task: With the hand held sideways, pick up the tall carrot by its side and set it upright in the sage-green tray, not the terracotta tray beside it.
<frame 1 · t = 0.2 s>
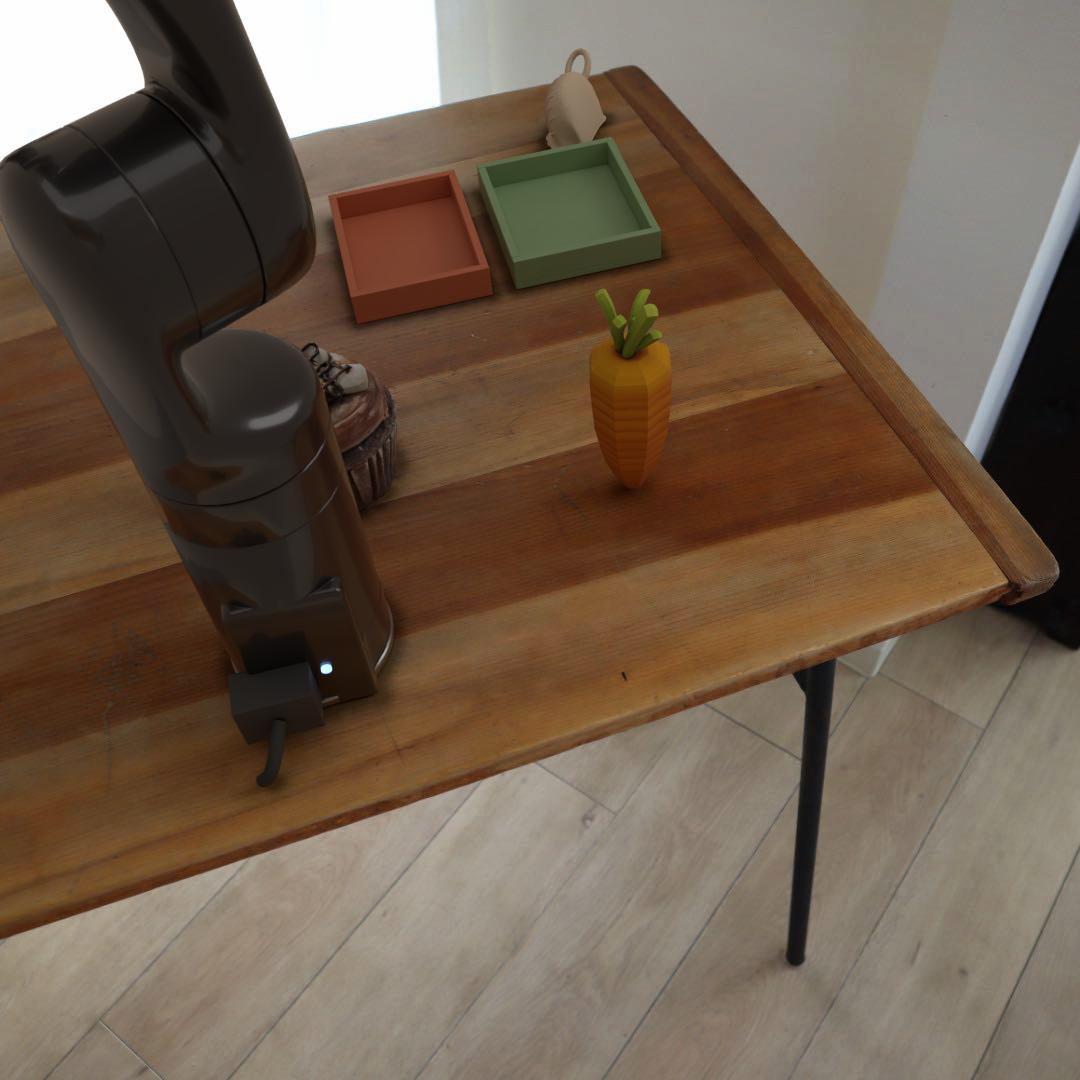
magic lamp: (130, 271, 93), on the table
decorative ornament: (577, 135, 100), on the table
carrot: (633, 488, 74), on the table
cupcake: (337, 475, 77), on the table
green tray: (567, 223, 92), on the table
terracotta tray: (410, 256, 91), on the table
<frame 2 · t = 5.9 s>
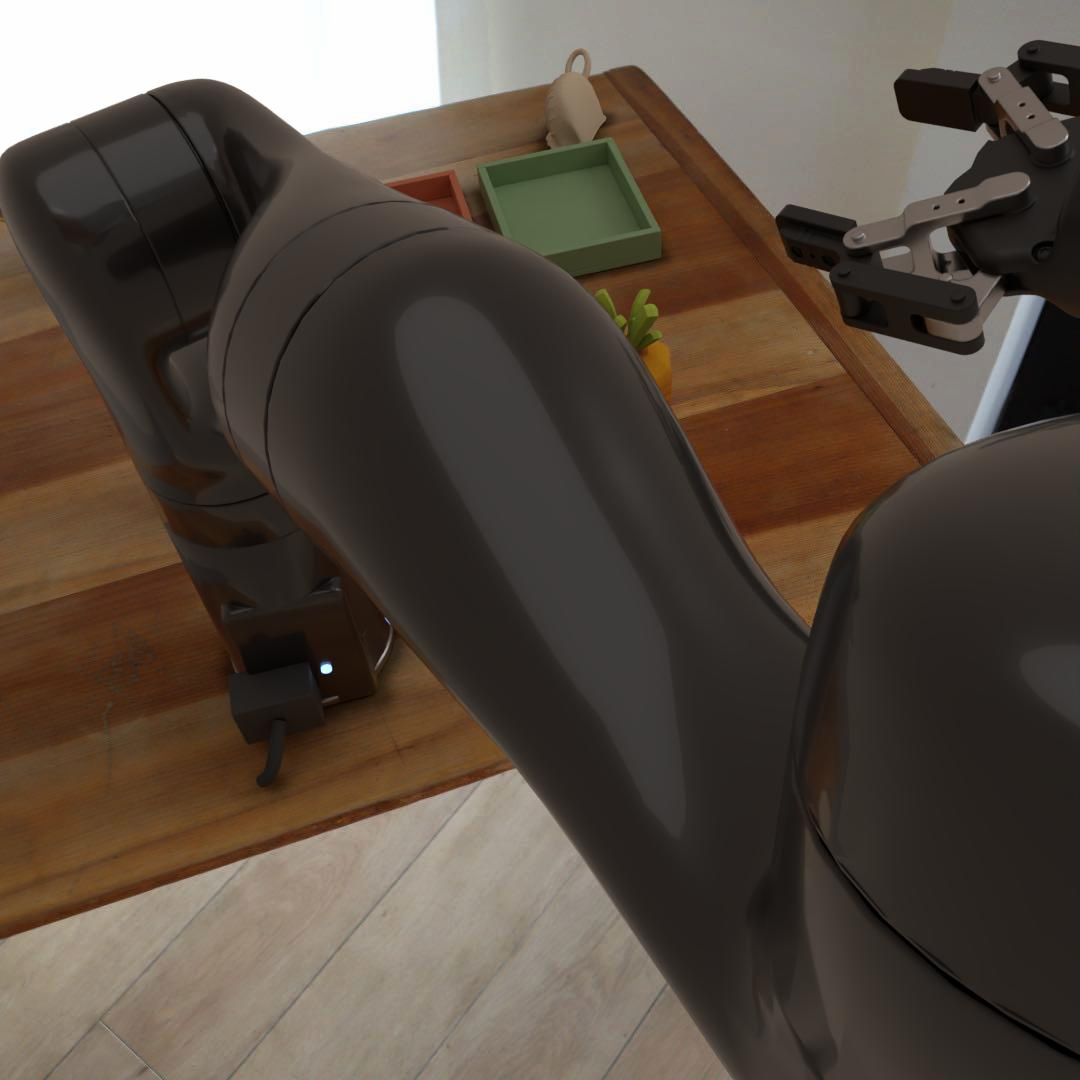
hand: (843, 159, 51), 26 cm above the table, tool horizontal, fingers open, 8 cm apart
nothing on the table moved.
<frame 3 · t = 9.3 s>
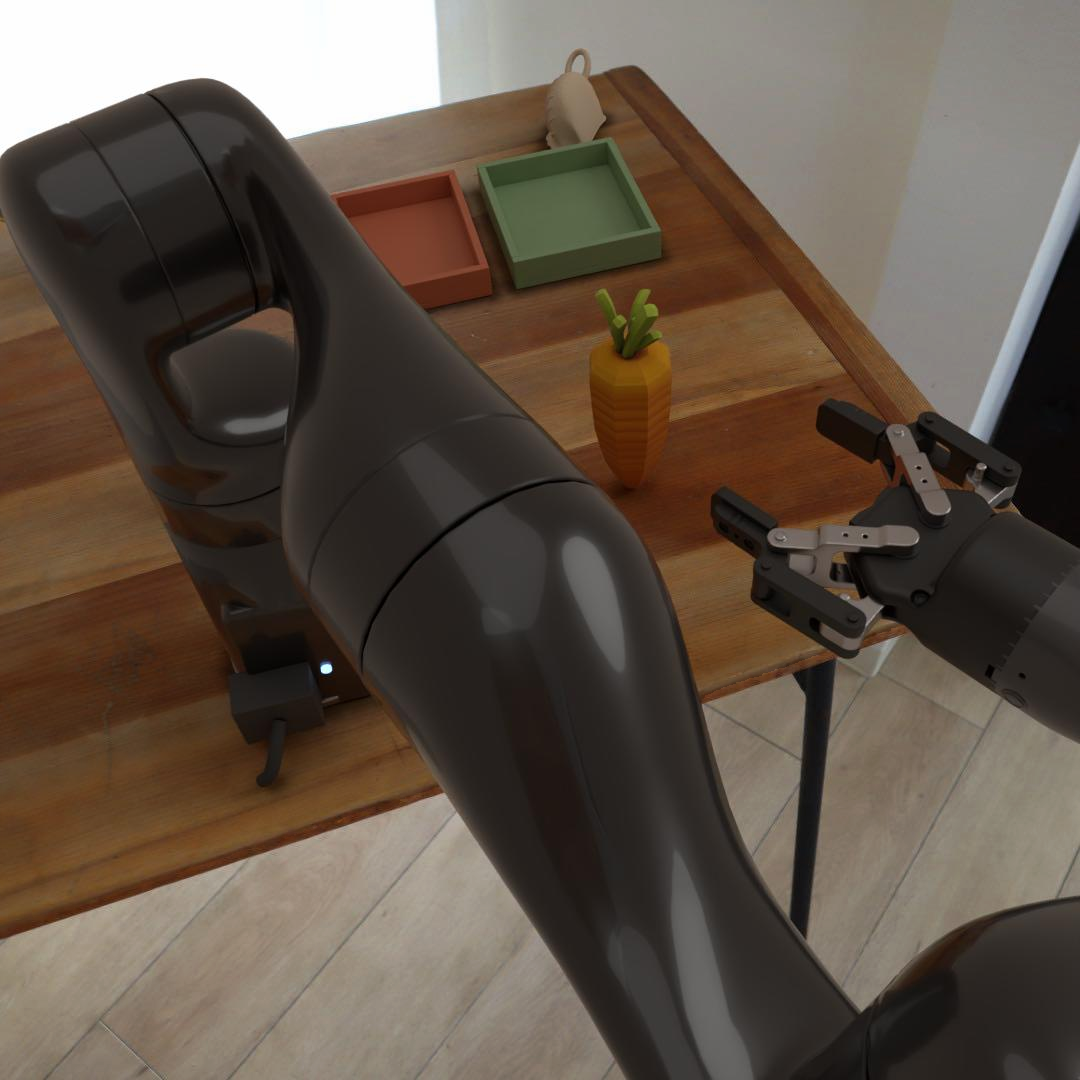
hand: (769, 456, 61), 10 cm above the table, tool horizontal, fingers open, 8 cm apart
nothing on the table moved.
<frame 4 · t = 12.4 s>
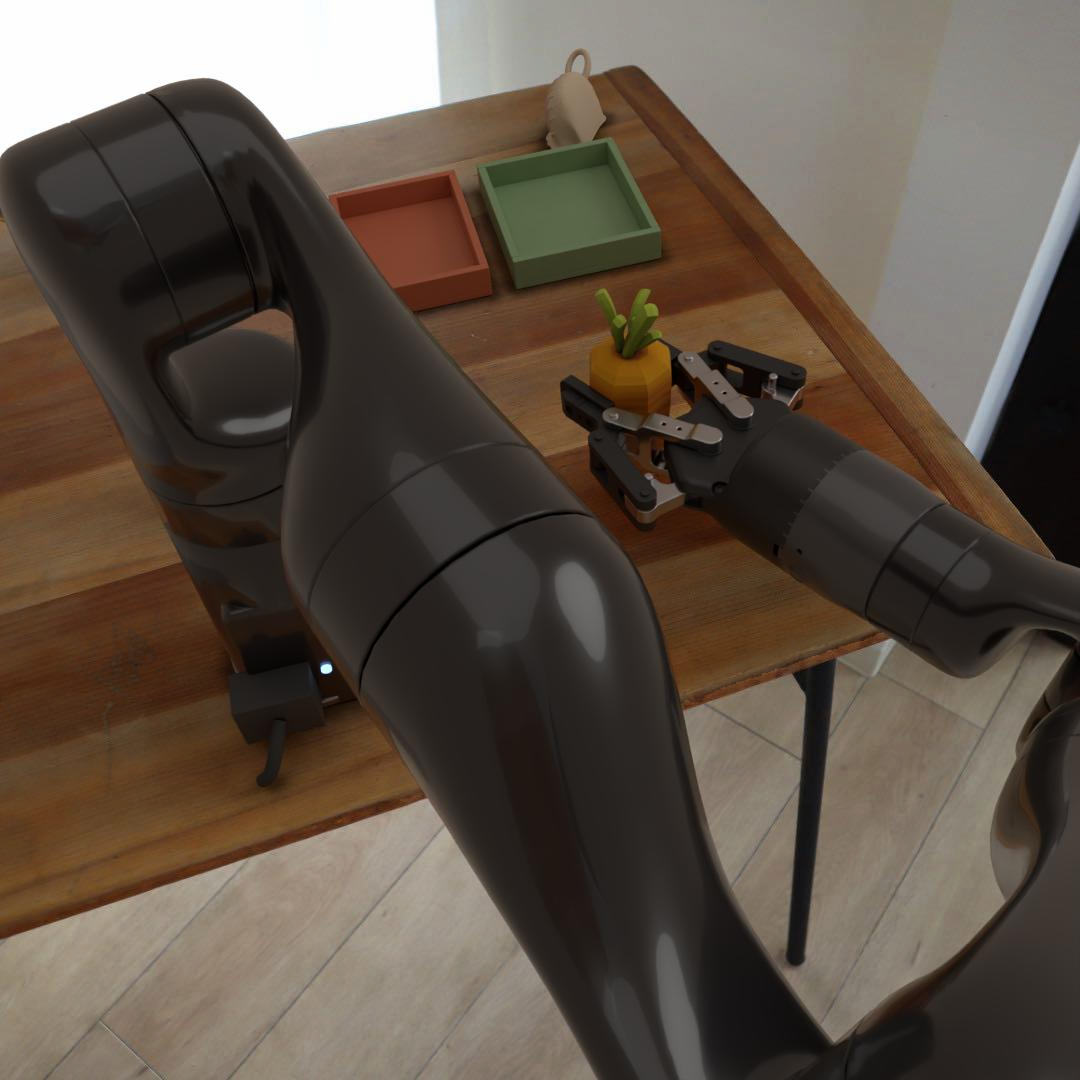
hand: (597, 367, 69), 9 cm above the table, tool horizontal, fingers closed on carrot, 4 cm apart
carrot: (632, 489, 74), on the table, touching gripper
everything else where it was.
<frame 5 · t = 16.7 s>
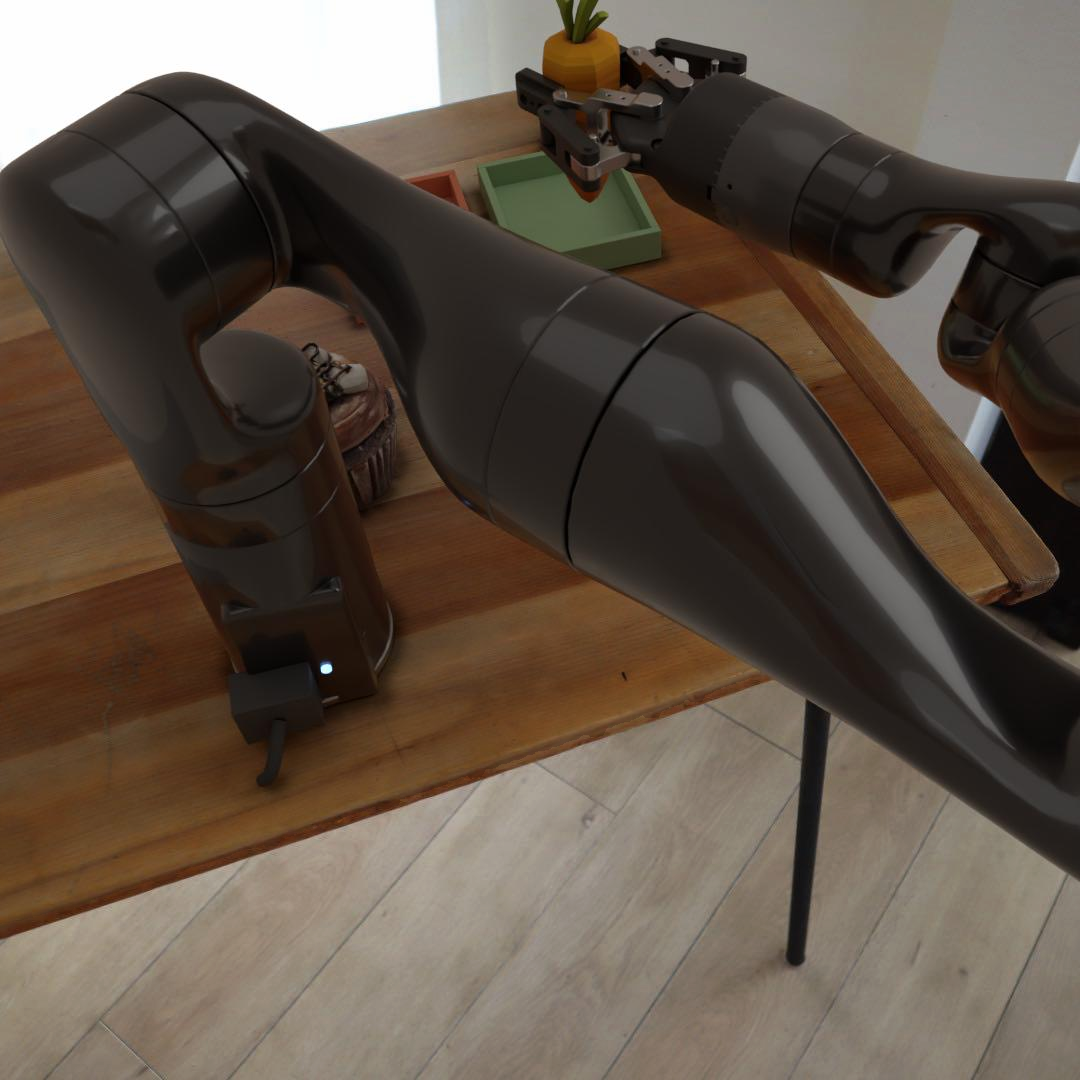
hand: (552, 67, 73), 18 cm above the table, tool horizontal, fingers closed on carrot, 4 cm apart
carrot: (590, 204, 78), point 9 cm above the table, touching gripper
everything else where it was.
when the fingers open (9 cm above the table, at t = 20.9 s): carrot stays where it is, resting on green tray.
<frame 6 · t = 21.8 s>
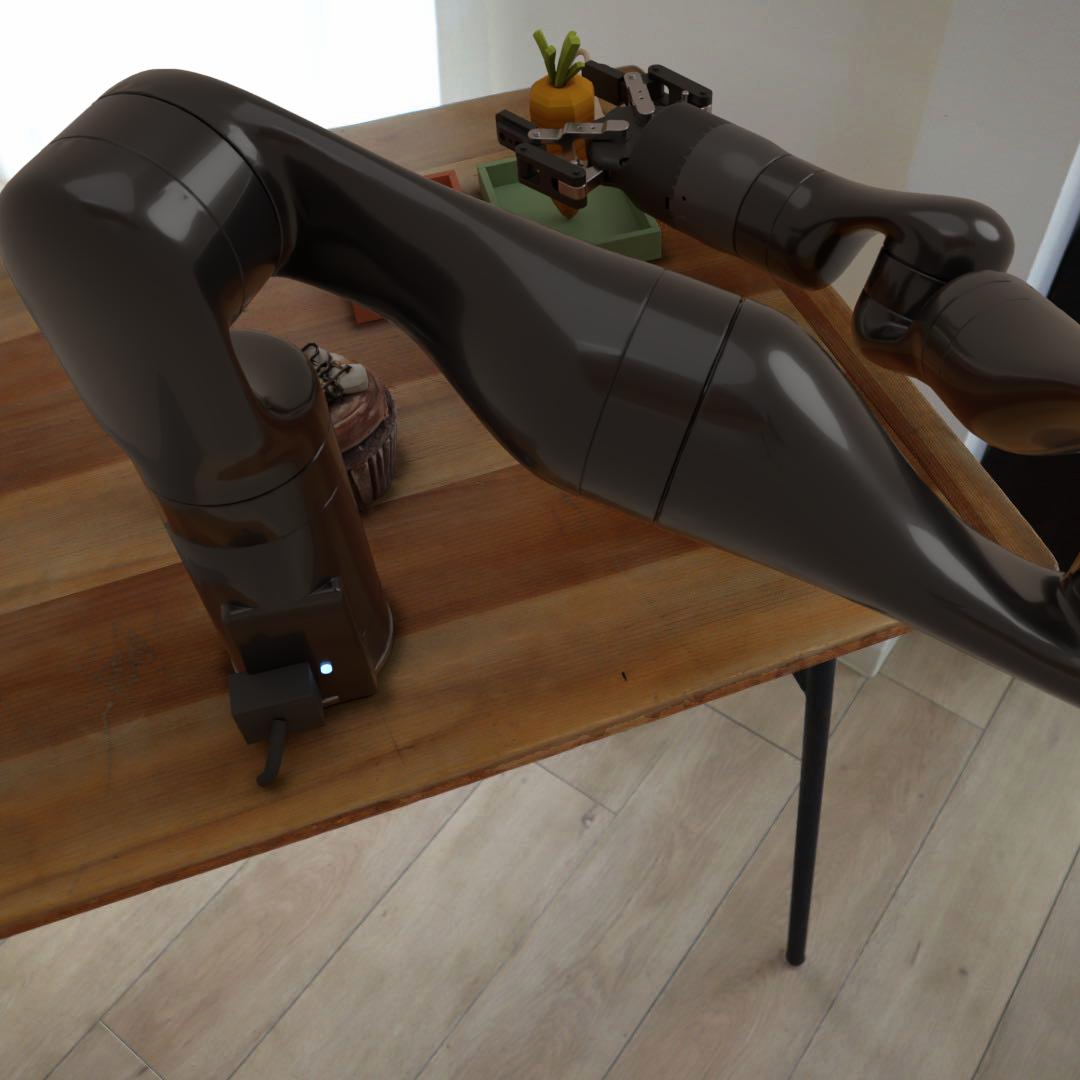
hand: (542, 98, 85), 10 cm above the table, tool horizontal, fingers open, 8 cm apart
carrot: (569, 220, 92), resting on green tray
everything else where it was.
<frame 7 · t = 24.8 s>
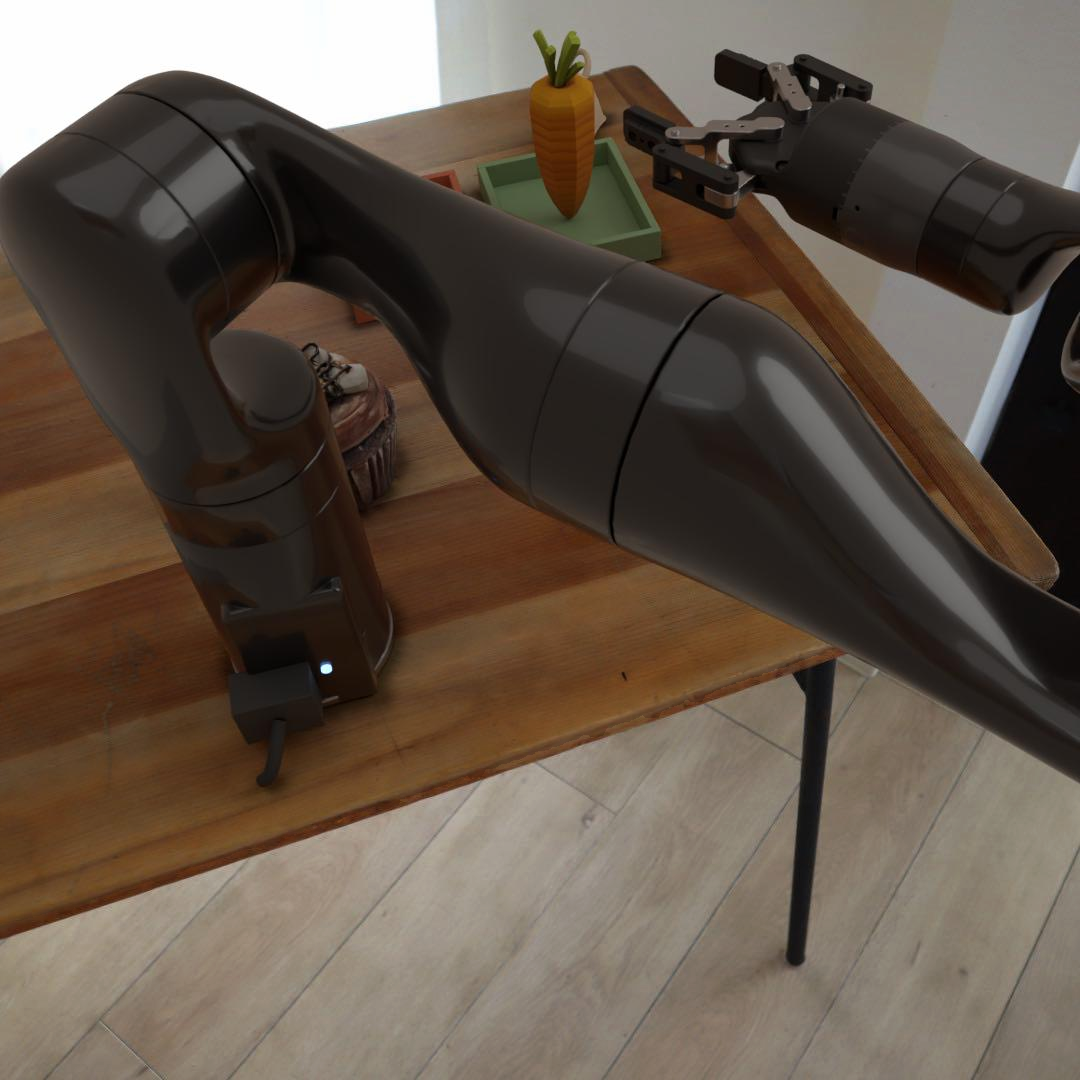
hand: (673, 92, 75), 15 cm above the table, tool horizontal, fingers open, 8 cm apart
nothing on the table moved.
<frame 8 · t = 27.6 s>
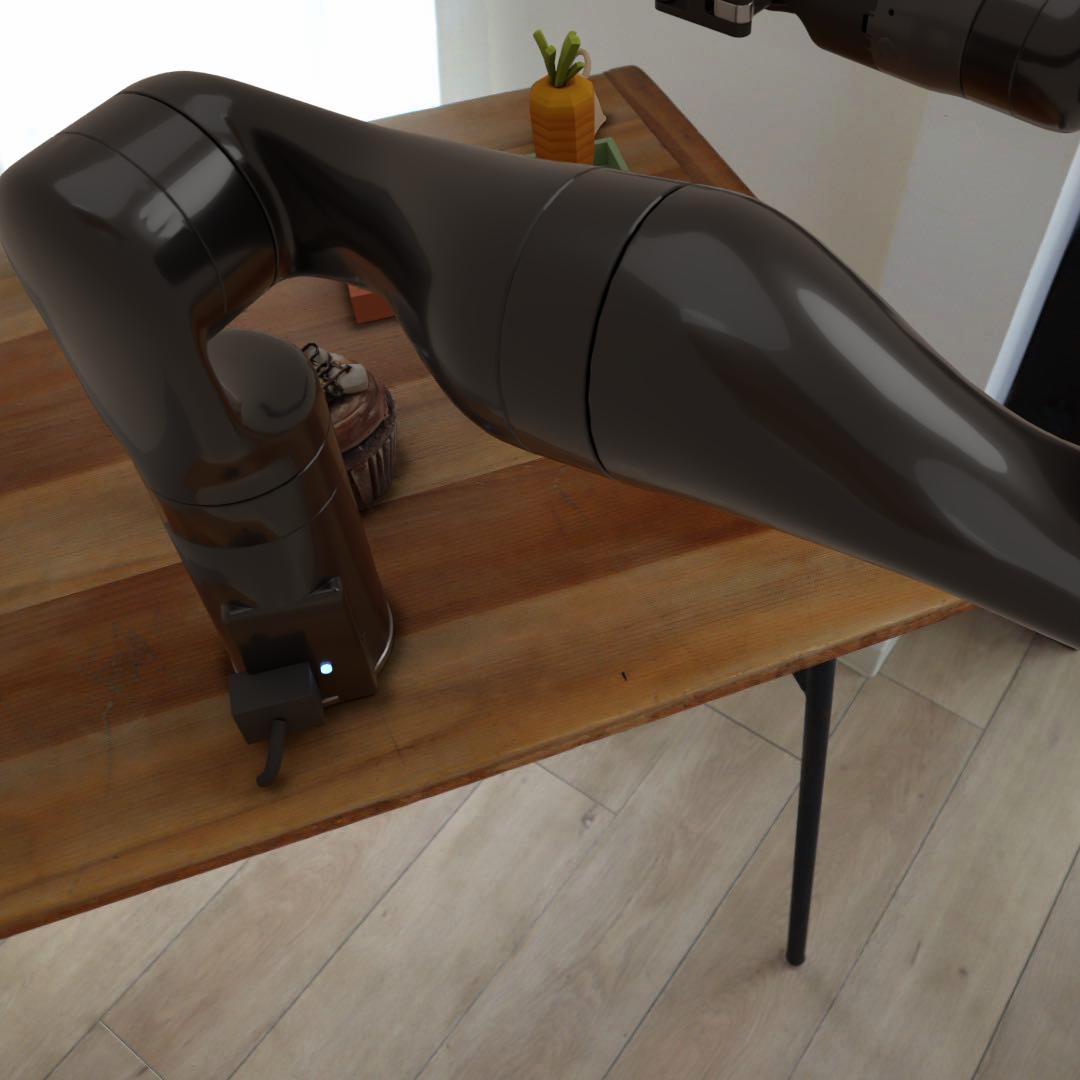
nothing on the table moved.
at the end: carrot inside the target area in the green tray (0.2 cm from its centre), point 0.3 cm above the green tray's base; carrot tilted 0°; the gripper is holding nothing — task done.
